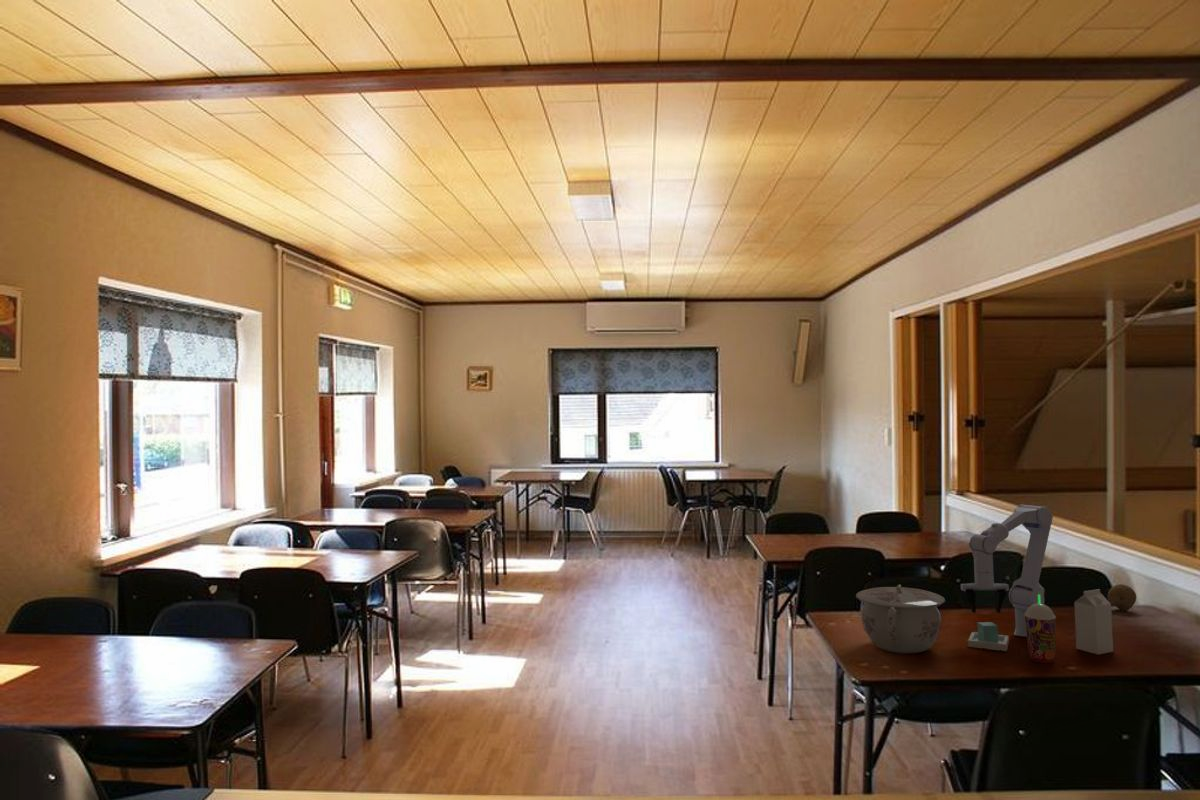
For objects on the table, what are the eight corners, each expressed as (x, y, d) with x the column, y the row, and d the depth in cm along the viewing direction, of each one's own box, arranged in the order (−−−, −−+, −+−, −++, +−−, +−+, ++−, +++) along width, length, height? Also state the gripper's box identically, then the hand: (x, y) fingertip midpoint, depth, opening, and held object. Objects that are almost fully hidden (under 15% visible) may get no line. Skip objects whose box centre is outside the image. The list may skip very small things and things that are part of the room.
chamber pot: (904, 632, 270) (901, 573, 271) (967, 653, 245) (964, 588, 245) (838, 642, 260) (836, 581, 261) (897, 666, 235) (894, 597, 235)
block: (991, 640, 256) (991, 622, 256) (998, 644, 251) (997, 625, 251) (978, 640, 256) (977, 622, 256) (984, 644, 251) (983, 626, 252)
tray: (1008, 642, 255) (1008, 635, 255) (1006, 651, 246) (1006, 644, 246) (972, 638, 261) (971, 631, 261) (968, 646, 251) (968, 640, 252)
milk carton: (1076, 649, 246) (1073, 589, 246) (1092, 646, 248) (1089, 587, 249) (1097, 655, 239) (1094, 593, 240) (1113, 652, 242) (1110, 591, 242)
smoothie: (1042, 666, 231) (1039, 598, 231) (1020, 658, 239) (1017, 593, 239) (1064, 662, 233) (1061, 596, 234) (1041, 655, 241) (1038, 590, 242)
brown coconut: (1123, 615, 284) (1122, 587, 285) (1102, 609, 293) (1100, 583, 293) (1142, 612, 287) (1141, 585, 287) (1121, 607, 295) (1120, 581, 295)
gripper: (1002, 568, 260) (1004, 609, 259) (957, 568, 262) (958, 609, 262) (1010, 572, 253) (1012, 614, 252) (963, 573, 255) (965, 614, 255)
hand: (985, 612), depth 257 cm, fingers open, 7 cm apart
